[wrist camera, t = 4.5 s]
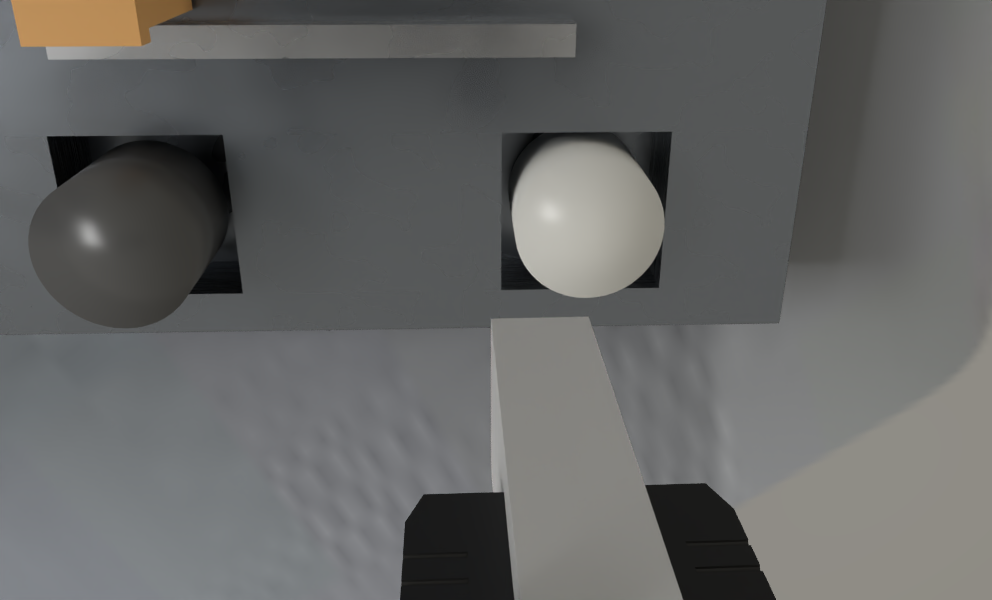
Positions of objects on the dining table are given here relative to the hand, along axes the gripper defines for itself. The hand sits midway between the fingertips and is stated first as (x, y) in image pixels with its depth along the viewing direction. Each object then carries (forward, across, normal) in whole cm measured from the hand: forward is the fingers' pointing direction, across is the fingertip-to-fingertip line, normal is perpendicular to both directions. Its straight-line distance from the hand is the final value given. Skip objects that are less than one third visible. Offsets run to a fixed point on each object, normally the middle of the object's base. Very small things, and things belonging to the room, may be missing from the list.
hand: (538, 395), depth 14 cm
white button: (+14, +2, -1) cm, 14 cm away
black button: (+12, -10, -1) cm, 16 cm away
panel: (+16, -4, +2) cm, 17 cm away
